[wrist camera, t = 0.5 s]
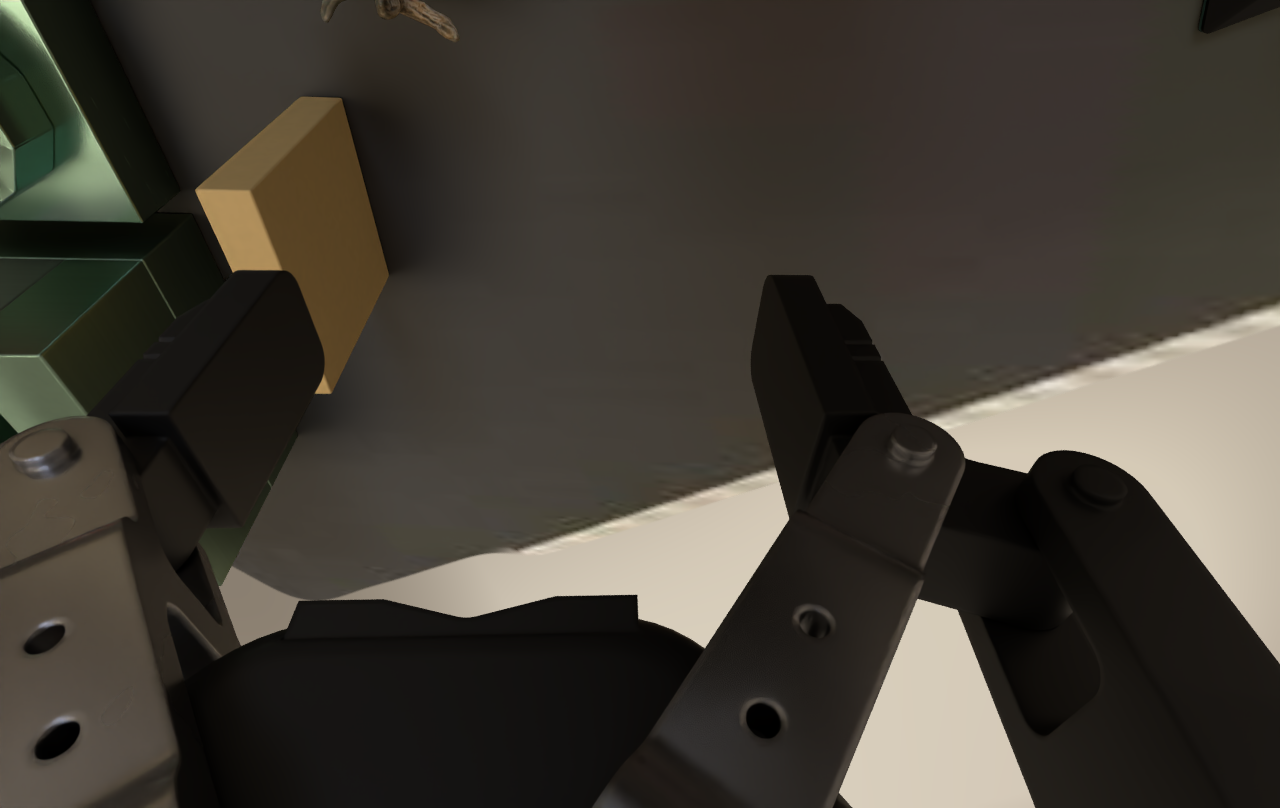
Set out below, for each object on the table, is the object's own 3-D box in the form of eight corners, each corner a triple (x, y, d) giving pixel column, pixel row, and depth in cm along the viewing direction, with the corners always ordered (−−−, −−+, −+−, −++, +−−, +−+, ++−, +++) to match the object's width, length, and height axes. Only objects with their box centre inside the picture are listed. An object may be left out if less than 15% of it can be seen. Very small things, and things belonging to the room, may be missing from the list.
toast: (299, 95, 24) (193, 189, 18) (342, 97, 24) (250, 190, 18) (355, 275, 30) (288, 394, 23) (389, 275, 30) (331, 394, 23)
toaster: (-25, 208, 27) (-263, 352, 19) (192, 213, 27) (39, 355, 20) (140, 435, 36) (22, 589, 29) (298, 435, 37) (221, 586, 29)
